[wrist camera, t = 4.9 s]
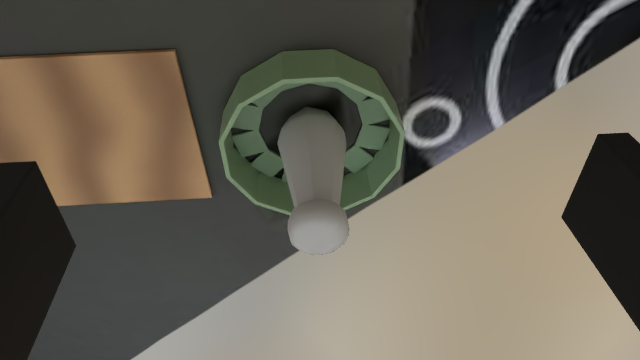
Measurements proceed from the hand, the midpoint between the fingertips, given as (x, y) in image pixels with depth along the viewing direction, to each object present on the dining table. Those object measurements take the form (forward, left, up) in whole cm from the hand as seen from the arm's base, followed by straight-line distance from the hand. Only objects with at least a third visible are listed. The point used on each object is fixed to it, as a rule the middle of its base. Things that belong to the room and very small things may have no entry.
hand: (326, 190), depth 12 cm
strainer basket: (0, -17, -25) cm, 31 cm away
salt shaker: (0, -17, -25) cm, 31 cm away
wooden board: (-20, -17, -25) cm, 36 cm away
